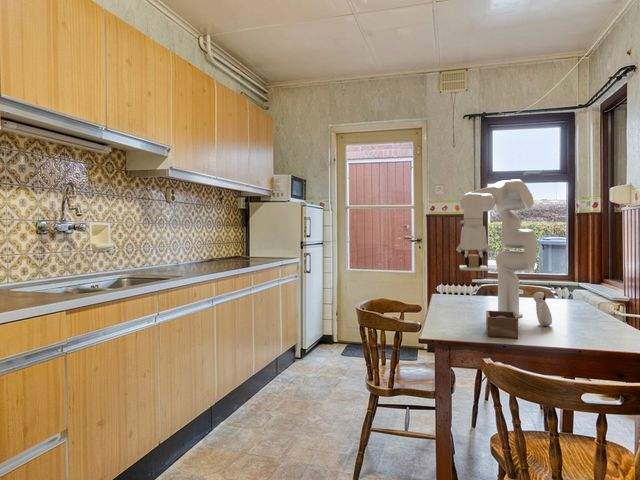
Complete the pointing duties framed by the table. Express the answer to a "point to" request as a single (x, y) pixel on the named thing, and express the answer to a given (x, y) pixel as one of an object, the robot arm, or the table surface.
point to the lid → (474, 264)
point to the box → (502, 324)
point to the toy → (542, 309)
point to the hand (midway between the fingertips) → (473, 266)
